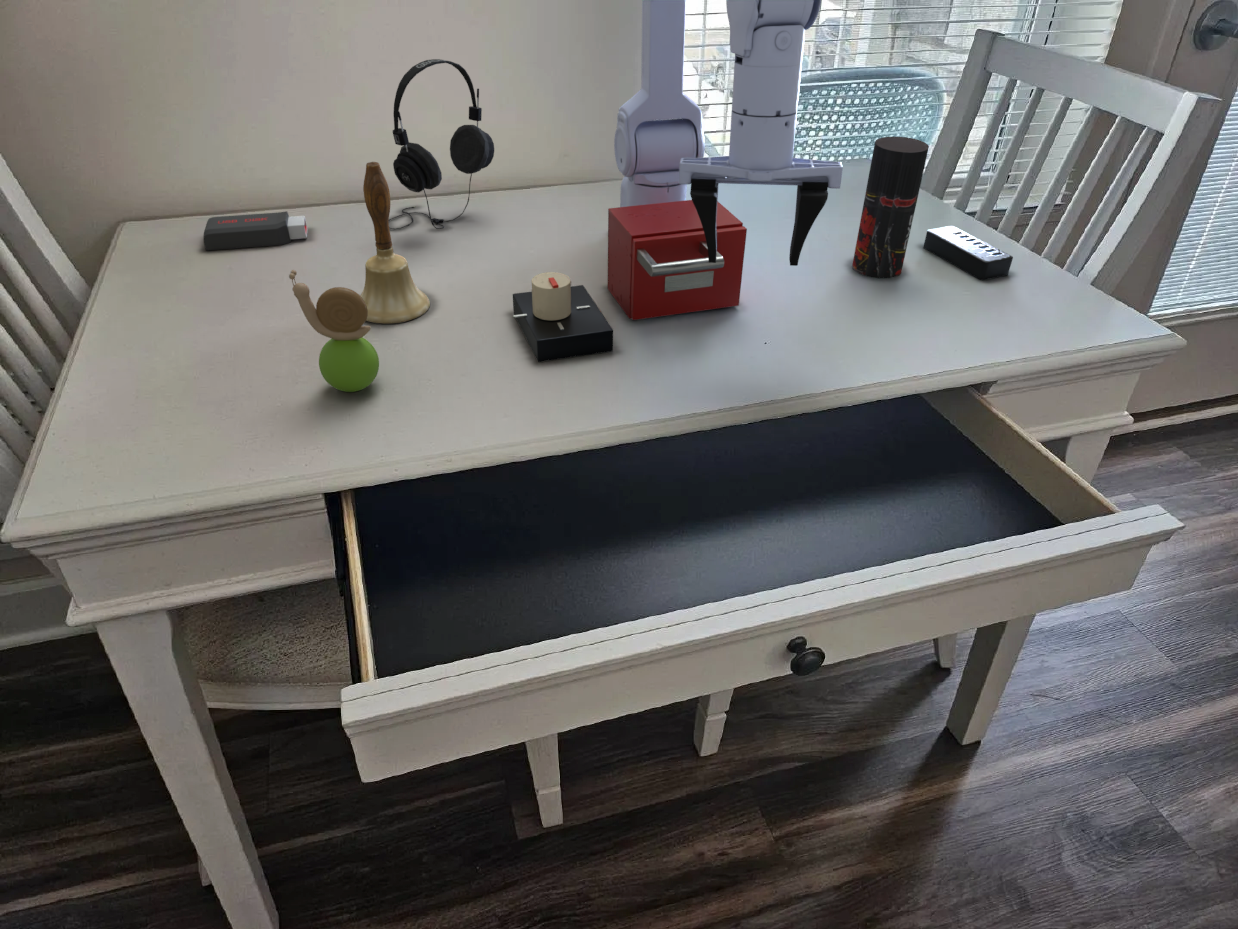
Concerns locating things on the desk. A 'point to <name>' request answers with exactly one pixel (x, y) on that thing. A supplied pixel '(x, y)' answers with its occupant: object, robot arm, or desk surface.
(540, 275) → the lock dial
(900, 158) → the deodorant
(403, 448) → the desk surface
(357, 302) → the snail figurine
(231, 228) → the usb drive
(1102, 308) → the desk surface
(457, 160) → the headphones
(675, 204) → the cabinet
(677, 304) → the red drawer
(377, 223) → the hand bell
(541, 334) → the panel
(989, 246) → the multiport hub
